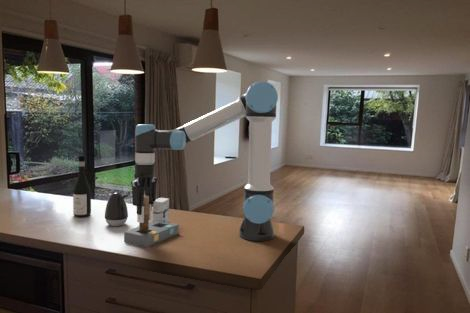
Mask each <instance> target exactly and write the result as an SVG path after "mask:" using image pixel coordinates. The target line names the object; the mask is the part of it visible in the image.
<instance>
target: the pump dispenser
mask: <svg viewBox="0 0 470 313" xmlns="http://www.w3.org/2000/svg"><path fill="white" fill-rule="evenodd" d="M125 198H129V194H128V193H126V194H122V193H121V192H117V191H116V192H113V193H112V194H110V196H109V198H108V200H107V203H106V206H105V210H104V219H105V222H106V223H107V225H109V226H111V227H121V226H123V225H125V224H126V222H127V220H128V218H129V213H128V211H129V210H128V207H127V206H128V205H127V202H126V200H125Z"/></svg>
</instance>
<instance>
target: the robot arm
mask: <svg viewBox="0 0 470 313" xmlns="http://www.w3.org/2000/svg"><path fill="white" fill-rule="evenodd" d="M278 98H279V95H278V90H277V89H276V87H275V86H274V85H273V84H272V83H270V82H267V81H262V80H261V81H256V82H253V83H252V84H250V85H249V86H248V88H247V90H246V92H245V93H244V94H241V95H239V96H238V98H237V99H236V100H234V101H232V102H230V103H228V104H226V105H224V106H221V107H220V108H218V109H215V110H213V111H211V112H208V113H207V114H204V115H202V116H200V117H198V118H196V119H193V120H191V121H190V122H187V123H185V124H183V125H181V126H179V127H177V128H175V129H169V130H167V129H166V130H165V129H156V126H155V125H154V124H150V123H149V124H145V123H143V124H142V123H141V124H140V123H139V124H137V125H136V126H135V131H134V144H135V146H134V147H135V148H134V149H135V150H134V154H135V155H134V161H135V164H134V173H135V174H136V177H135V180H131V181H130V185H131V193H132V195H131V196H132V206H135V207H136V214H137V219H136V220H137V223H140V222H141V223H144V206H143V198H144V195H148V196H149V221H152V211H153V204H154V201H155V200H156V199H157V195H156V194H157V182H158V180H159V179H158V177H156V176H154V175H153V174H154V173H155V164H154V163H155V160H156V158H155V157H156V156H155V153H156V149H157V150H174V151H177V150H178V151H179V150H180V151H181V150H184V149H185V147H186V144H189V143H190V142H193V141H194V140H197V139H199V138H201V137H203V136H205V135H208V134H210V133H212V132H214V131H217V130H219V129H221V128H223V127H225V126H228V125H229V124H232V123H233V122H236V121H238V120H241V119H242V118H244V117H245V118H246V120H248V121H249V125H248V126H249V129H248V130H249V131H248V168H247V170H248V173H247V174H248V175H247V183H246V184H245V185H244V187H243V206H242V212H243V219H242V221H241V224H240V227H239V232H238V236H239V237H240V238H242V239H243V240H247V241H251V242H252V241H253V242H266V241H271V240H273V239H274V237H275V230H274V226H273V224H272V219H271V218H272V217H273V215H274V212H275V206H274V195H275V194H274V193H275V192H274V191H275V188H274V186H273V185H272V184H271V167H272V166H271V163H272V161H271V160H272V136H273V135H272V128H273V121H275V120H276V119H277V103H278V100H279V99H278Z"/></svg>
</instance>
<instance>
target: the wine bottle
mask: <svg viewBox="0 0 470 313" xmlns="http://www.w3.org/2000/svg"><path fill="white" fill-rule="evenodd" d="M77 158H78V159H77V160H78V176H77V179H76V182H75V184H74V187H73V192H72V204H73V205H72V208H73V211H72V212H73V216H74V217H75V218H86V217H89V216H90V215H91V214H92V191H91V187H90V184H89V183H88V180H87V178H86V170H85V167H86V166H85V162H86V161H85V160H86V156H85V155H81V154H80V155H78V156H77Z"/></svg>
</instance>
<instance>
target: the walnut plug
mask: <svg viewBox="0 0 470 313" xmlns="http://www.w3.org/2000/svg"><path fill="white" fill-rule="evenodd" d="M143 206H144V223H141V222H138V223H139V226H138V227H139V231H148V230H149V223H150V220H149V196H148V195H145V194H144V198H143Z"/></svg>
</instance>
